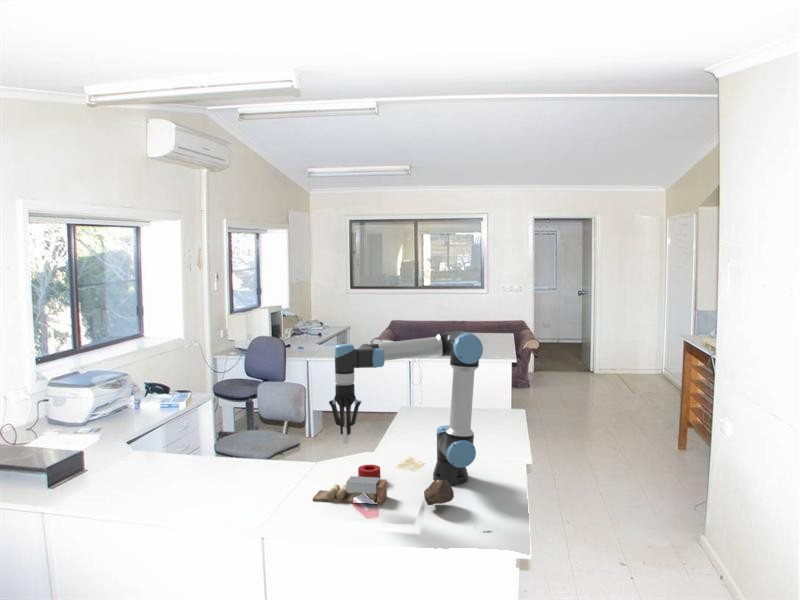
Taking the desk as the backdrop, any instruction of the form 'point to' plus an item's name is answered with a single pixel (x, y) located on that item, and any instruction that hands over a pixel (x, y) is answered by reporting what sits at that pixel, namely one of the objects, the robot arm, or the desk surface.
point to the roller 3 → (373, 496)
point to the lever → (369, 471)
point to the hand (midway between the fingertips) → (345, 442)
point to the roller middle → (341, 492)
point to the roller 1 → (333, 491)
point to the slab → (362, 484)
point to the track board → (348, 497)
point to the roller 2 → (355, 495)
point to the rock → (438, 492)
